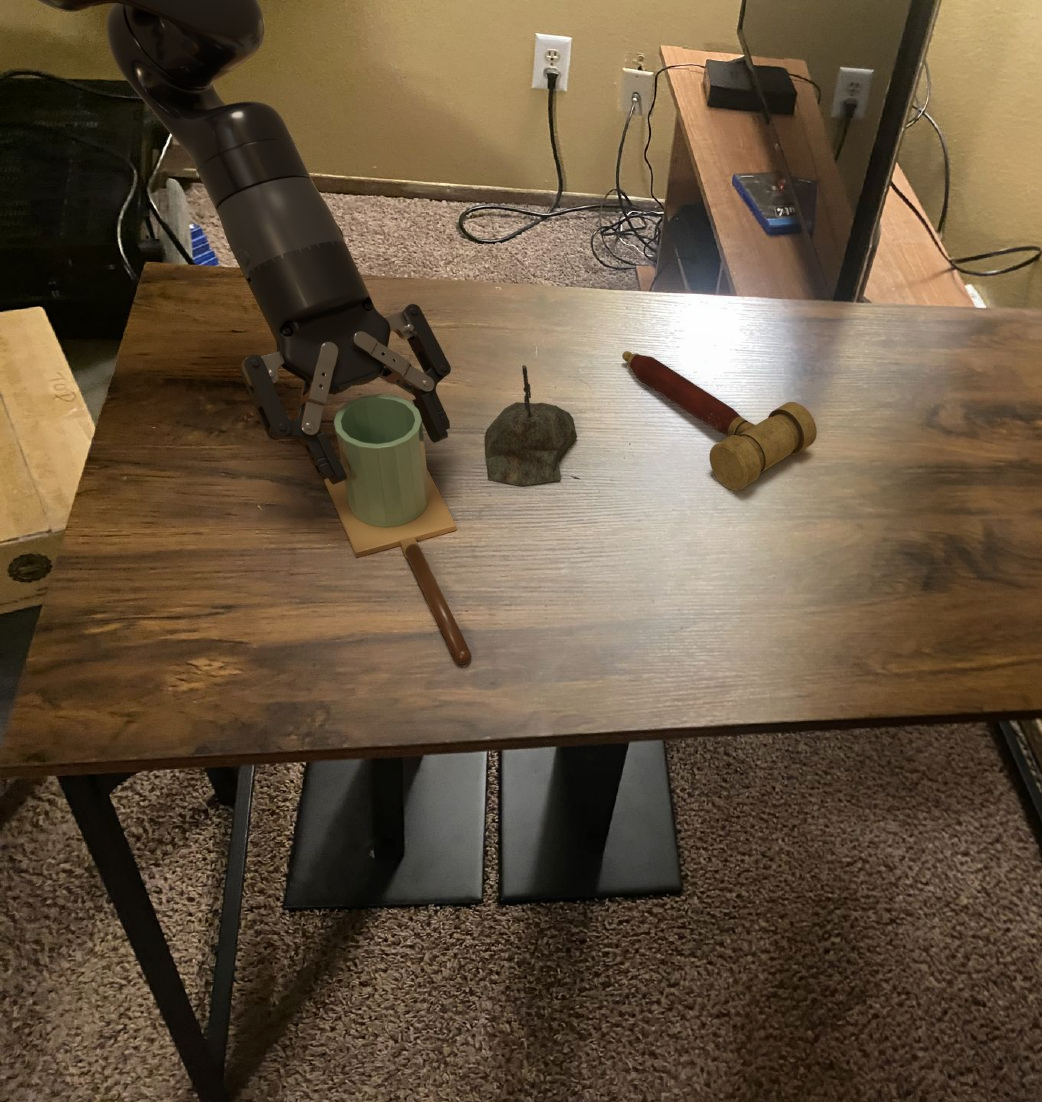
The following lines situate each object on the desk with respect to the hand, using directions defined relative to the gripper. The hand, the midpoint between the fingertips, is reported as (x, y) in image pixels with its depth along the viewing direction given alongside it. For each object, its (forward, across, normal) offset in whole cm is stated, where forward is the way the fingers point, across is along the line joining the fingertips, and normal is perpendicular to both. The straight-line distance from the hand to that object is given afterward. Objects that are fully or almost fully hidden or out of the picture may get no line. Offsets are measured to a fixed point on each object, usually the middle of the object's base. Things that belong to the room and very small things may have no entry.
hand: (391, 460), depth 76 cm
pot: (+3, 0, -5) cm, 6 cm away
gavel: (+7, -29, -2) cm, 30 cm away
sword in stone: (+4, -14, -5) cm, 15 cm away
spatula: (+8, +1, -1) cm, 8 cm away
